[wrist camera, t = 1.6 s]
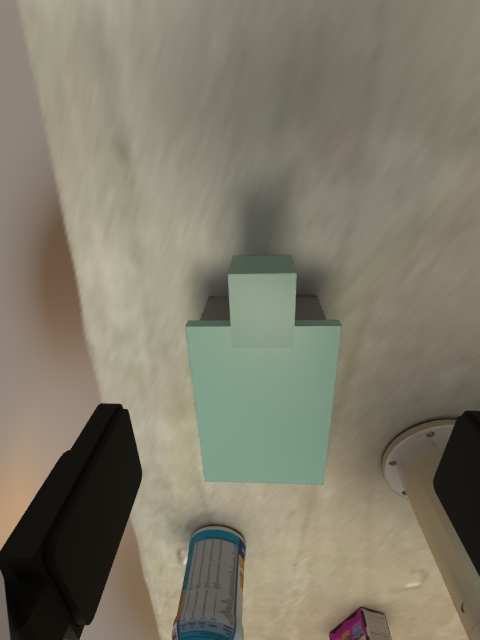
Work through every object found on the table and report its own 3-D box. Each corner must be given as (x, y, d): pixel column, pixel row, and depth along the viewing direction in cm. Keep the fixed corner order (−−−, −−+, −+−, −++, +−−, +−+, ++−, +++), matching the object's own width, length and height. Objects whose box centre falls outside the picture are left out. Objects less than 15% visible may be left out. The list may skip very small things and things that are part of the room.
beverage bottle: (223, 516, 45) (198, 750, 27) (258, 546, 48) (256, 777, 30) (178, 534, 48) (128, 759, 30) (213, 562, 51) (187, 784, 33)
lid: (321, 475, 32) (329, 515, 28) (206, 472, 33) (199, 511, 29) (346, 253, 22) (362, 272, 18) (180, 256, 23) (165, 275, 19)
